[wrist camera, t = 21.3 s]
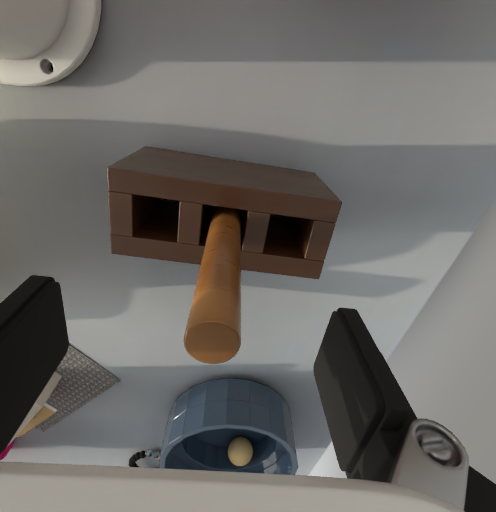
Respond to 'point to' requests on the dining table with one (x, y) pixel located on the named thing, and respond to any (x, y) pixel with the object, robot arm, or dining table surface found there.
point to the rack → (224, 195)
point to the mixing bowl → (229, 428)
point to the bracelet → (142, 455)
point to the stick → (217, 292)
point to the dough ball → (240, 451)
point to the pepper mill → (6, 450)
